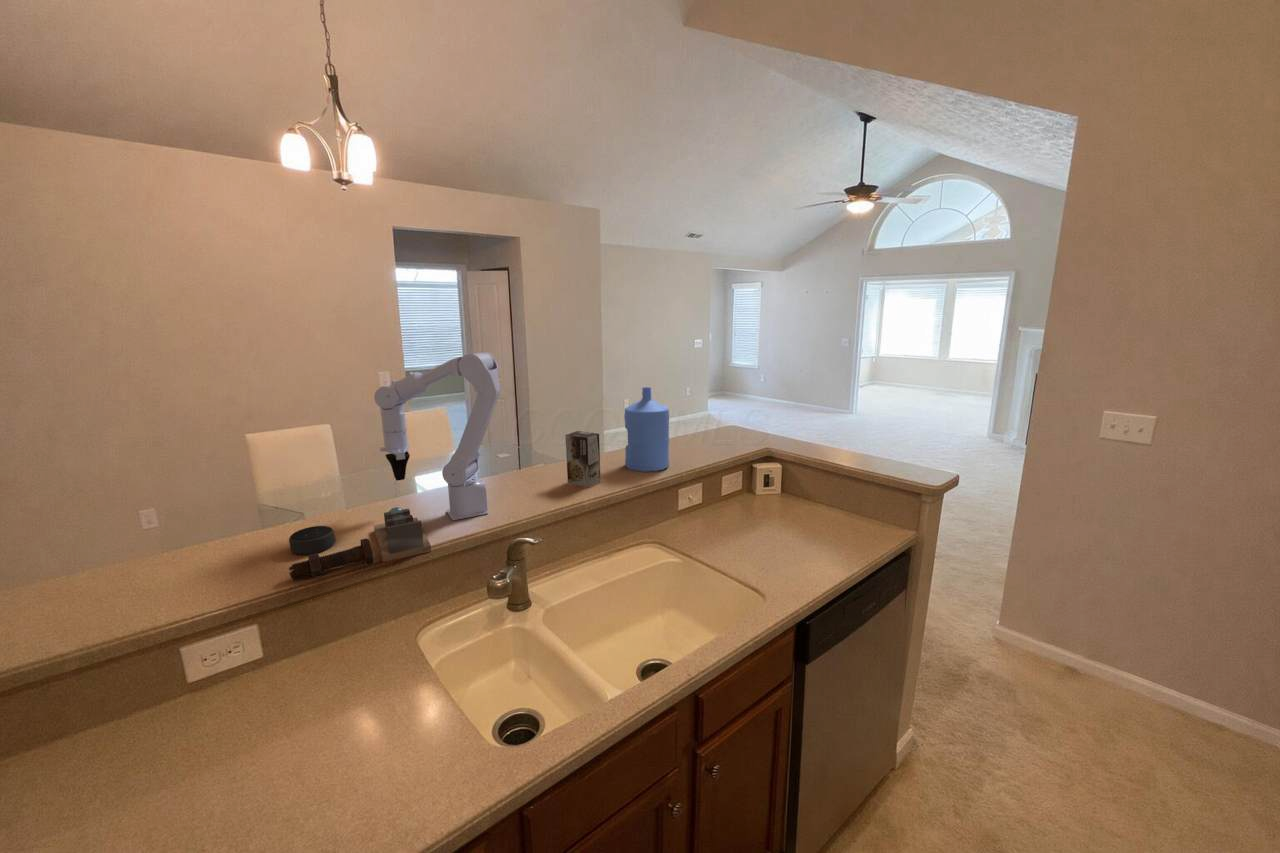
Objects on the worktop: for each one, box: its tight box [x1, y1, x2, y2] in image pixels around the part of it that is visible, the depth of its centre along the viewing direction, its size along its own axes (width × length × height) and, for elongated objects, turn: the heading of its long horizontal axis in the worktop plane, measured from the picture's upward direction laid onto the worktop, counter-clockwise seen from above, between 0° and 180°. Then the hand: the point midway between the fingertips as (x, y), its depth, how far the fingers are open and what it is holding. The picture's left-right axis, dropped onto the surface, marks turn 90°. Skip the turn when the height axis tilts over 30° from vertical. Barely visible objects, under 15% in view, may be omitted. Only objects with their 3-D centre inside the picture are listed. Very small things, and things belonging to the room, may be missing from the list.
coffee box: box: [564, 430, 601, 488], centre depth 165 cm, size 9×6×16 cm
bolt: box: [288, 537, 375, 580], centre depth 110 cm, size 6×5×15 cm
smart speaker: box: [288, 525, 336, 556], centre depth 121 cm, size 9×9×4 cm
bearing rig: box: [373, 508, 432, 563], centre depth 124 cm, size 20×10×8 cm, turn 31°
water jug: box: [624, 386, 670, 473], centre depth 182 cm, size 16×16×28 cm
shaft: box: [388, 506, 404, 525], centre depth 124 cm, size 15×4×4 cm, turn 31°
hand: (400, 479), depth 141 cm, fingers closed
